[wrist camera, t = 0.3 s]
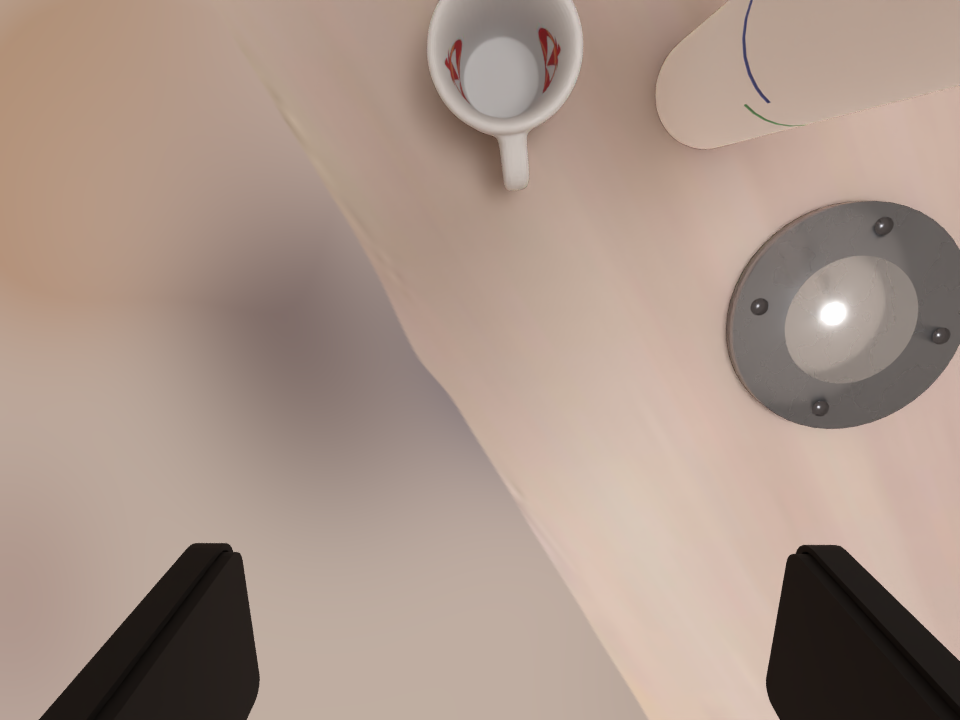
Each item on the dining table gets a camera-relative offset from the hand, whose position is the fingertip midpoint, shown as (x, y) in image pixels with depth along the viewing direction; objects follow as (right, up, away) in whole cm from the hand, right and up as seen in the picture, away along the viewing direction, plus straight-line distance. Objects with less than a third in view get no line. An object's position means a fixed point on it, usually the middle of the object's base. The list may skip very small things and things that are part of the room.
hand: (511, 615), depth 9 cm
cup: (+1, +21, +26) cm, 34 cm away
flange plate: (+25, +7, +30) cm, 40 cm away
